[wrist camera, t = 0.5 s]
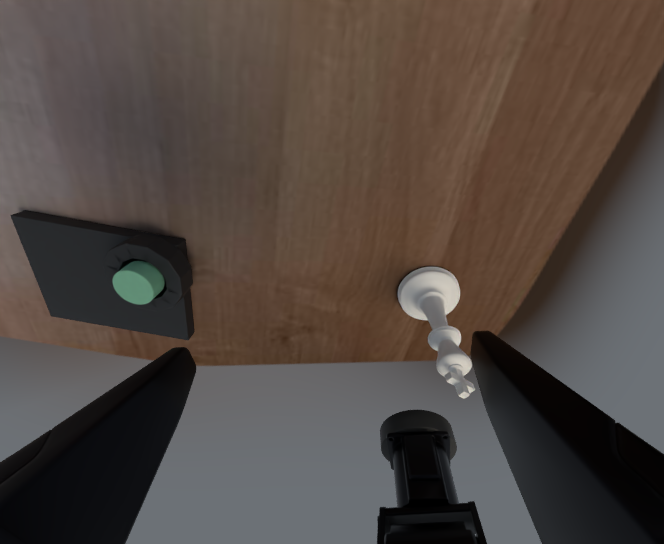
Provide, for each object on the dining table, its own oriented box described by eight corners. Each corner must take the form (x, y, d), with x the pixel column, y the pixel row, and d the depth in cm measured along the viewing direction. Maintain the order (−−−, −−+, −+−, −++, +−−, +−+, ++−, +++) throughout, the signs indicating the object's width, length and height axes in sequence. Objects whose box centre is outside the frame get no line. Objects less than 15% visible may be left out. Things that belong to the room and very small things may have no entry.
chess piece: (423, 255, 23) (462, 347, 15) (472, 285, 24) (534, 389, 16) (385, 298, 25) (399, 400, 17) (431, 324, 26) (466, 433, 18)
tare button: (162, 264, 22) (150, 274, 21) (167, 296, 24) (156, 308, 23) (122, 256, 22) (107, 267, 21) (130, 289, 24) (116, 301, 23)
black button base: (197, 236, 24) (177, 252, 21) (204, 333, 29) (189, 356, 27) (22, 204, 24) (-19, 217, 21) (61, 308, 29) (32, 329, 26)
